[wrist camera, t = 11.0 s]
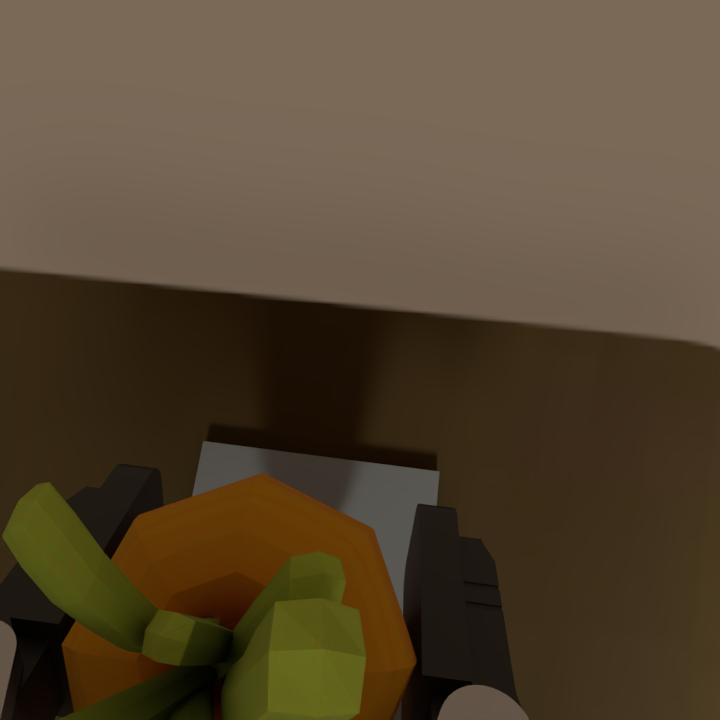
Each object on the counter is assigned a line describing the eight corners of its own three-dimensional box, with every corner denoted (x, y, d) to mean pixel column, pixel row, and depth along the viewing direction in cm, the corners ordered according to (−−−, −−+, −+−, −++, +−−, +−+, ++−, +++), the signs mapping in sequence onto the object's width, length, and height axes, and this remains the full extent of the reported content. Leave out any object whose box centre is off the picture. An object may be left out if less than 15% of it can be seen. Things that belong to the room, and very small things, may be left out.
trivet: (156, 700, 18) (150, 705, 18) (207, 443, 21) (203, 441, 20) (413, 736, 18) (415, 742, 18) (437, 473, 20) (439, 471, 20)
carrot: (207, 675, 17) (-458, 1311, 3) (228, 501, 19) (-158, 379, 4) (377, 686, 17) (508, 1380, 3) (385, 512, 19) (500, 422, 4)
